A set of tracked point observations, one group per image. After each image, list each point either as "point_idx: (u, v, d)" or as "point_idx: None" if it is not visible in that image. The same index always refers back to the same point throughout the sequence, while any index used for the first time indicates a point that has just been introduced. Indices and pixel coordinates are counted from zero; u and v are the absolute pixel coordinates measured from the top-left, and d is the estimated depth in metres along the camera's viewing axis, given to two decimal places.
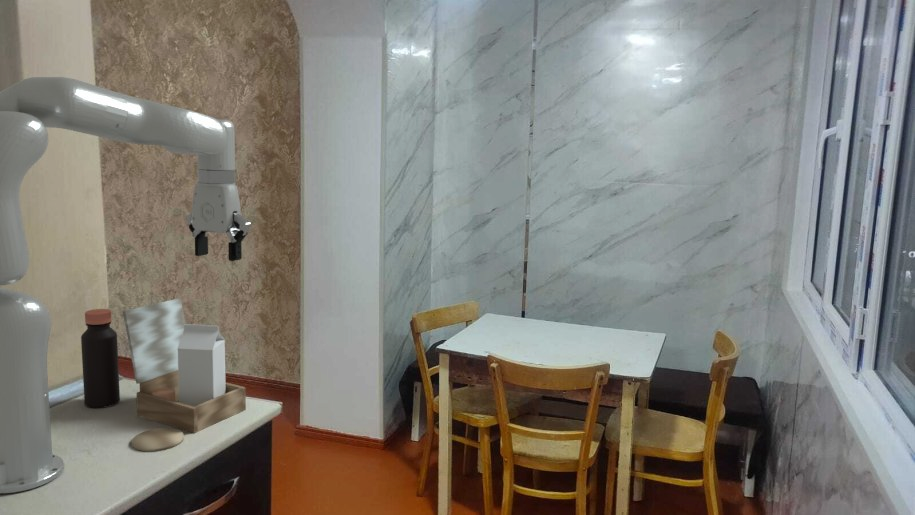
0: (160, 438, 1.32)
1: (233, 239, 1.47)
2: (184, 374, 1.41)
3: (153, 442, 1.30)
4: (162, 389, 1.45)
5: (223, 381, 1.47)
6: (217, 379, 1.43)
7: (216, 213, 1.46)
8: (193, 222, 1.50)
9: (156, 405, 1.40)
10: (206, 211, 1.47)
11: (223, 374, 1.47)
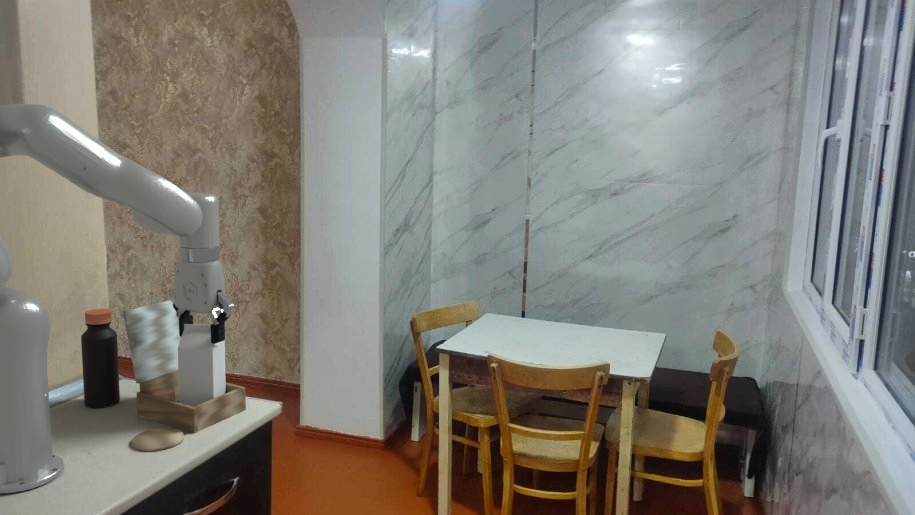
0: (160, 438, 1.32)
1: (215, 321, 1.39)
2: (184, 374, 1.41)
3: (153, 442, 1.30)
4: (162, 389, 1.45)
5: (224, 381, 1.47)
6: (217, 379, 1.43)
7: (199, 293, 1.38)
8: (175, 300, 1.42)
9: (156, 405, 1.40)
10: (188, 290, 1.39)
11: (223, 374, 1.47)
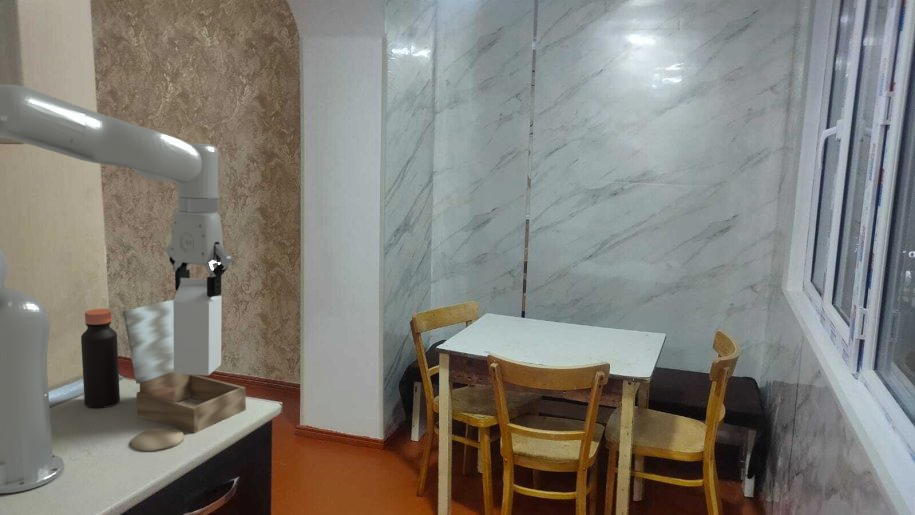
0: (160, 438, 1.32)
1: (212, 274, 1.37)
2: (179, 328, 1.39)
3: (153, 442, 1.30)
4: (162, 389, 1.45)
5: (219, 338, 1.45)
6: (213, 334, 1.41)
7: (196, 244, 1.36)
8: (172, 253, 1.40)
9: (156, 405, 1.40)
10: (186, 241, 1.37)
11: (219, 331, 1.45)
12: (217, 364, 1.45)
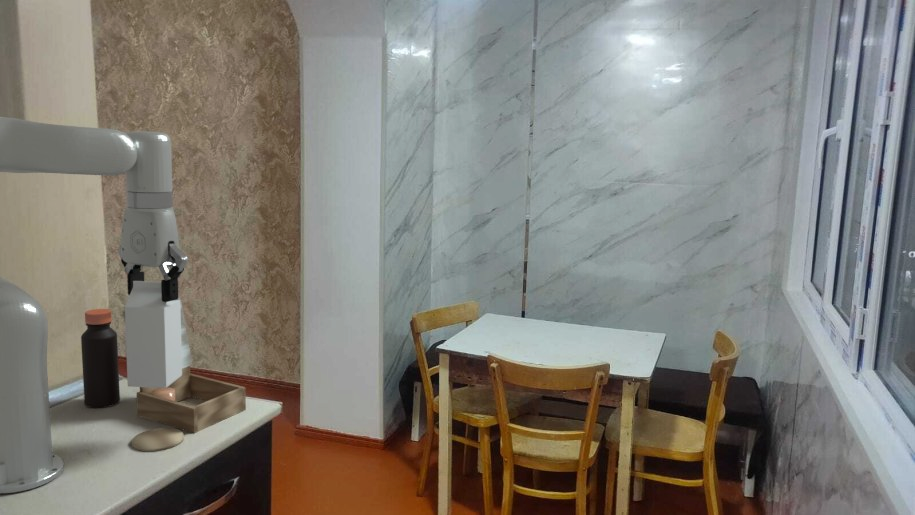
0: (160, 438, 1.32)
1: (167, 276, 1.23)
2: (132, 336, 1.25)
3: (153, 442, 1.30)
4: (162, 389, 1.45)
5: (179, 346, 1.32)
6: (170, 343, 1.28)
7: (148, 244, 1.22)
8: (122, 253, 1.26)
9: (156, 405, 1.40)
10: (136, 241, 1.23)
11: (178, 338, 1.31)
12: (177, 375, 1.32)
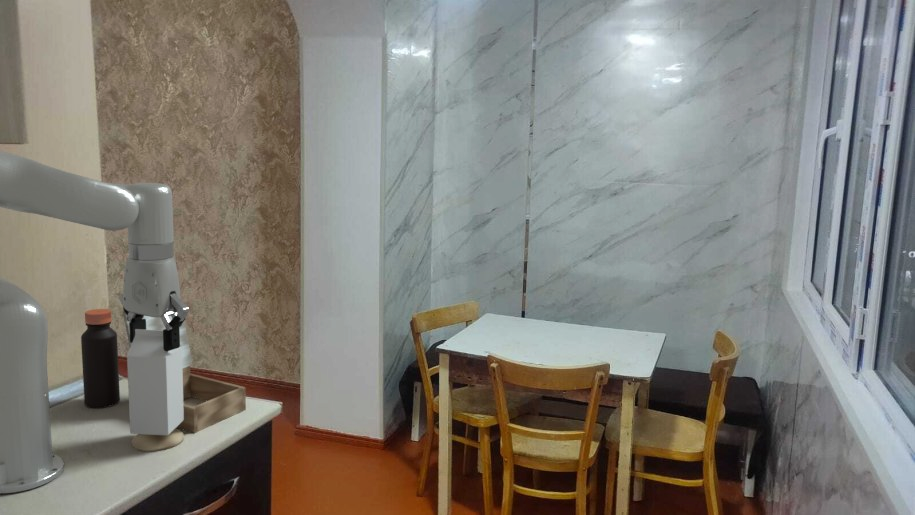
0: (160, 438, 1.32)
1: (168, 326, 1.25)
2: (134, 385, 1.27)
3: (153, 442, 1.30)
4: None
5: (181, 392, 1.33)
6: (172, 390, 1.29)
7: (149, 294, 1.24)
8: (124, 303, 1.27)
9: None
10: (138, 291, 1.25)
11: (180, 384, 1.33)
12: (179, 421, 1.33)
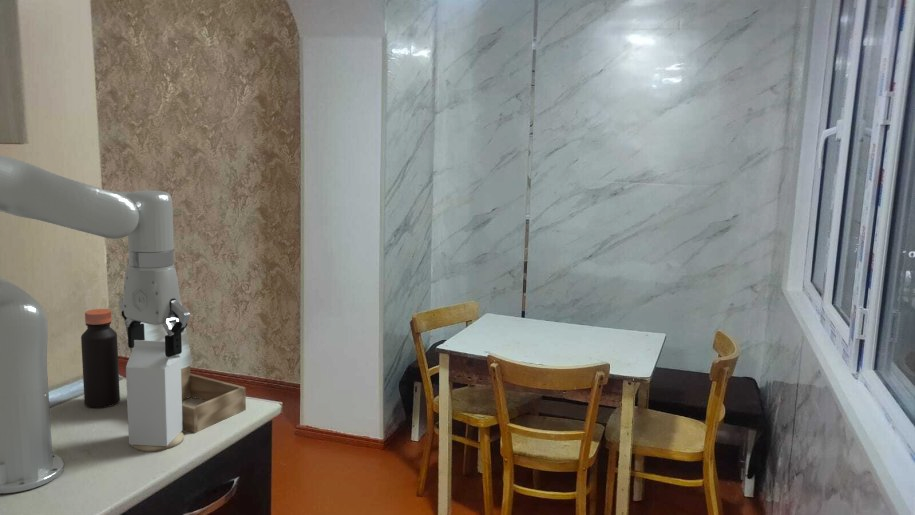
0: None
1: (170, 332, 1.25)
2: (133, 396, 1.27)
3: None
4: None
5: (179, 402, 1.33)
6: (171, 401, 1.29)
7: (150, 302, 1.24)
8: (124, 310, 1.28)
9: None
10: (138, 299, 1.25)
11: (179, 395, 1.33)
12: (178, 431, 1.33)
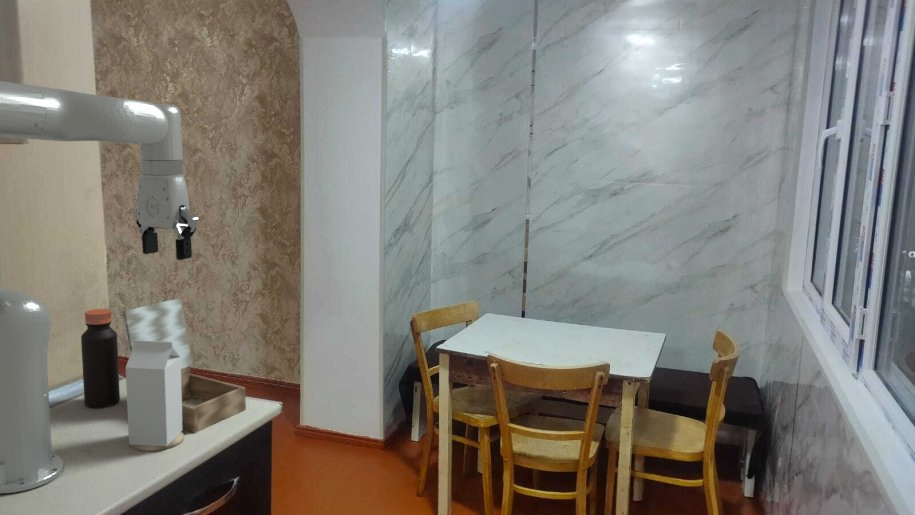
0: None
1: (180, 236, 1.34)
2: (133, 396, 1.27)
3: None
4: None
5: (179, 402, 1.33)
6: (171, 401, 1.29)
7: (161, 207, 1.33)
8: (139, 217, 1.37)
9: None
10: (151, 205, 1.35)
11: (179, 395, 1.33)
12: (178, 431, 1.33)
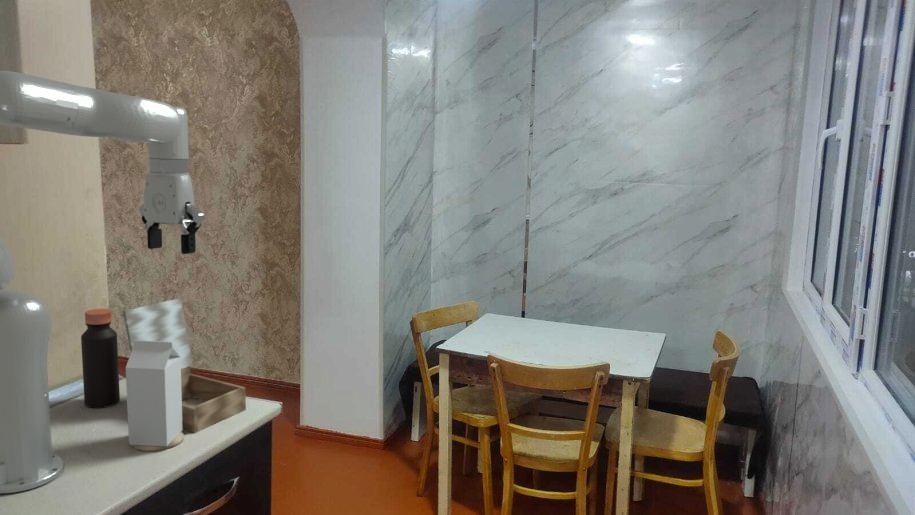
0: None
1: (186, 231, 1.41)
2: (133, 396, 1.27)
3: None
4: None
5: (179, 402, 1.33)
6: (171, 401, 1.29)
7: (168, 204, 1.40)
8: (145, 213, 1.43)
9: None
10: (157, 202, 1.41)
11: (179, 395, 1.33)
12: (178, 431, 1.33)
